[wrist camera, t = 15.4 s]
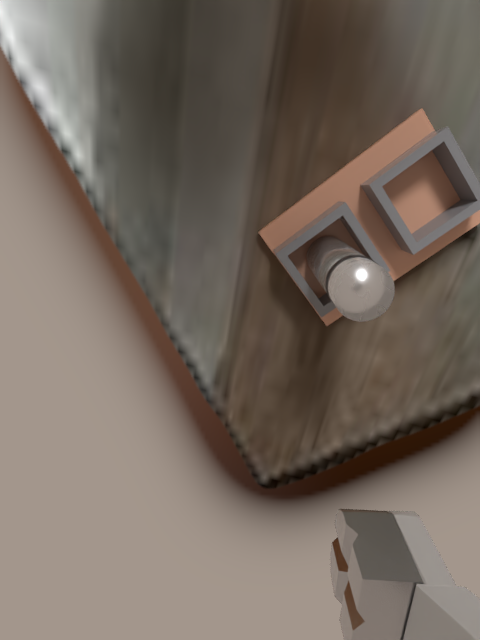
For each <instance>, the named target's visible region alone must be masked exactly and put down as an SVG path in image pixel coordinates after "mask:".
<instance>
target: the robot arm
mask: <svg viewBox="0 0 480 640" xmlns="http://www.w3.org/2000/svg"><path fill="white" fill-rule="evenodd" d="M335 528H336V532H337V536H338V537H337V538H336V539H335V540H334V541H333V542H332V548H331V578H332V585H333V590H334V595H335V597H336V598H337V600H338V601H339V602H340V603H341V604H342V608H341V615H340V623H341V628H342V633H343V637H344V640H480V599H479V598H478V597H477V596H475V594H473V593H472V592H471V591H470V590H468V589H467V588H466V587H461V586H456V584H455V582H454V580H453V578H452V577H451V575H450V573H449V571H448V569H447V567H446V565H445V564H444V562H443V560H442V558H441V556H440V554H439V552H438V550H437V549H436V547H435V545H434V543H433V541H432V539H431V537H430V535H429V533H428V532H427V530H426V528H425V526H424V524H423V522H422V520H421V518H420V517H419V515H418V514H416V513H415V512H408V511H405V512H404V511H389V512H388V511H373V510H372V511H371V510H353V509H339V510H338V512H337V514H336V520H335Z"/></svg>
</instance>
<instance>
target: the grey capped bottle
mask: <svg viewBox="0 0 480 640" xmlns="http://www.w3.org/2000/svg"><path fill="white" fill-rule="evenodd" d="M307 263H308V266H309V268H310V269H311V271H312V272H313V274H314V275H315V277H316V278H317V280H318V281H319V282H320V284H321V285H322V287H323V288H324V290H325V291H326V293H327V295H328V297H329V298H330V300H331V301H332V303H333V304H334V305H335V306H336V307H337V309H338V310H339V311H340V313H341V314H342V315H344V316H345V317H346V318H348V319H351V320H354V321H369V320H373V319H375V318H377V317H379V316H380V315H382V314H383V313H384V312H385V311H386V310H387V309H388V308H389V306H390V305H391V303H392V301H393V298H394V293H395V287H394V282H393V279H392V277H391V275H390V274H389V273H388V271H386V270H385V269H384V268H383V267H381V266H380V265H378V264H377V263H376V262H375V261H373V260H372V259H370V258H368V257H366V256H364V255H363V254H361V253H359V252H358V251H356V250H355V249H353V248H352V247H350V246H349V245H347V244H346V243H344V242H342V241H341V240H339V239H338V238H335V237H332V236H325V237H321V238H319V239H317V240H315V241H314V242H313V243H312V244H311V246H310V247H309V249H308V252H307Z"/></svg>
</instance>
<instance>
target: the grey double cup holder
mask: <svg viewBox="0 0 480 640" xmlns="http://www.w3.org/2000/svg"><path fill="white" fill-rule="evenodd" d="M479 223H480V183H479V181H478V180H477V178H476V176H475V174H474V172H473V171H472V169H471V167H470V165H469V163H468V162H467V160H466V158H465V156H464V154H463V153H462V151H461V149H460V147H459V145H458V144H457V142H456V140H455V138H454V136H453V135H452V133H451V131H450V129H449V127H445V128H442V129H438V130H434V128H433V126H432V125H431V123H430V121H429V119H428V118H427V116H426V114H425V112H424V111H423V109H420V110H418V111H416V112H415V113H413V114H412V115H411V116H409V117H408V118H407V119H405V120H404V121H403V122H402V123H400V124H399V125H398V126H396V127H395V128H394V129H392V130H391V131H390V132H388V133H387V134H386V135H384V136H383V137H382V138H380V139H379V140H378V141H377V142H375V143H374V144H373V145H371V146H370V147H369V148H367V149H366V150H365V151H363V152H362V153H361V154H359V155H358V156H357V157H355V158H354V159H353V160H352V161H350V162H349V163H348V164H346V165H345V166H344V167H342V168H341V169H340V170H338V171H337V172H336V173H334V174H333V175H332V176H330V177H329V178H328V179H327V180H325V181H324V182H323V183H321V184H320V185H319V186H317V187H316V188H315V189H313V190H312V191H311V192H309V193H308V194H307V195H306V196H304V197H303V198H302V199H300V200H299V201H298V202H296V203H295V204H294V205H292V206H291V207H290V208H288V209H287V210H286V211H284V212H283V213H282V214H281V215H279V216H278V217H277V218H275V219H274V220H273V221H271V222H270V223H269V224H267V225H266V226H265V227H263V228H262V229H261V230H259V231H258V233H259V234H260V236H261V237H262V238H263V240H264V241H265V242H266V244H267V245H268V247H269V248H270V249H271V251H272V252H273V253H274V255H275V256H276V257H277V259H278V260H279V262H280V263H281V264H282V266H283V267H284V268H285V270H286V271H287V273H288V274H289V275H290V277H291V278H292V279H293V281H294V282H295V284H296V285H297V286H298V288H299V289H300V290H301V292H302V293H303V295H304V296H305V297H306V299H307V300H308V301H309V303H310V304H311V305H312V307H313V308H314V310H315V311H316V312H317V314H318V315H319V316H320V318H321V319H322V321H323V322H324V323H325V325H326V326H328V325H329V324H331V323H332V322H334V321H335V320H337V319H338V318H340V317H341V316H343V315H342V314H341V313H340V311H339V310H338V309H337V307H336V306H335V305H334V304H333V303H332V301H331V300H330V298H329V297H328V295H327V293H326V291H325V290H324V288H323V287H322V285H321V284H320V282H319V281H318V280H317V278H316V277H315V275H314V274H313V272H312V271H311V269H310V268H309V266H308V263H307V252H308V249H309V247H310V246H311V244H312V243H313V242H314V241H315V240H317V239H319V238H321V237H325V236H332V237H335V238H338V239H339V240H341V241H342V242H344V243H346V244H347V245H349V246H350V247H352V248H353V249H355V250H356V251H358V252H359V253H361V254H363V255H364V256H366V257H368V258H370V259H372V260H373V261H375V262H376V263H377V264H378V265H380V266H381V267H383V268H384V269H385V270H386V271H388V273H389V274H390V275H391V277H392V279H393V281H395V280H396V279H398V278H399V277H401V276H402V275H404V274H405V273H407V272H408V271H409V270H411V269H412V268H414V267H415V266H417V265H418V264H420V263H421V262H423V261H424V260H426V259H427V258H429V257H430V256H432V255H433V254H435V253H436V252H438V251H439V250H441V249H442V248H444V247H445V246H447V245H448V244H449V243H451V242H452V241H454V240H455V239H457V238H458V237H460V236H461V235H463V234H464V233H466V232H467V231H469V230H470V229H472V228H473V227H475V226H476V225H478V224H479Z"/></svg>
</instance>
